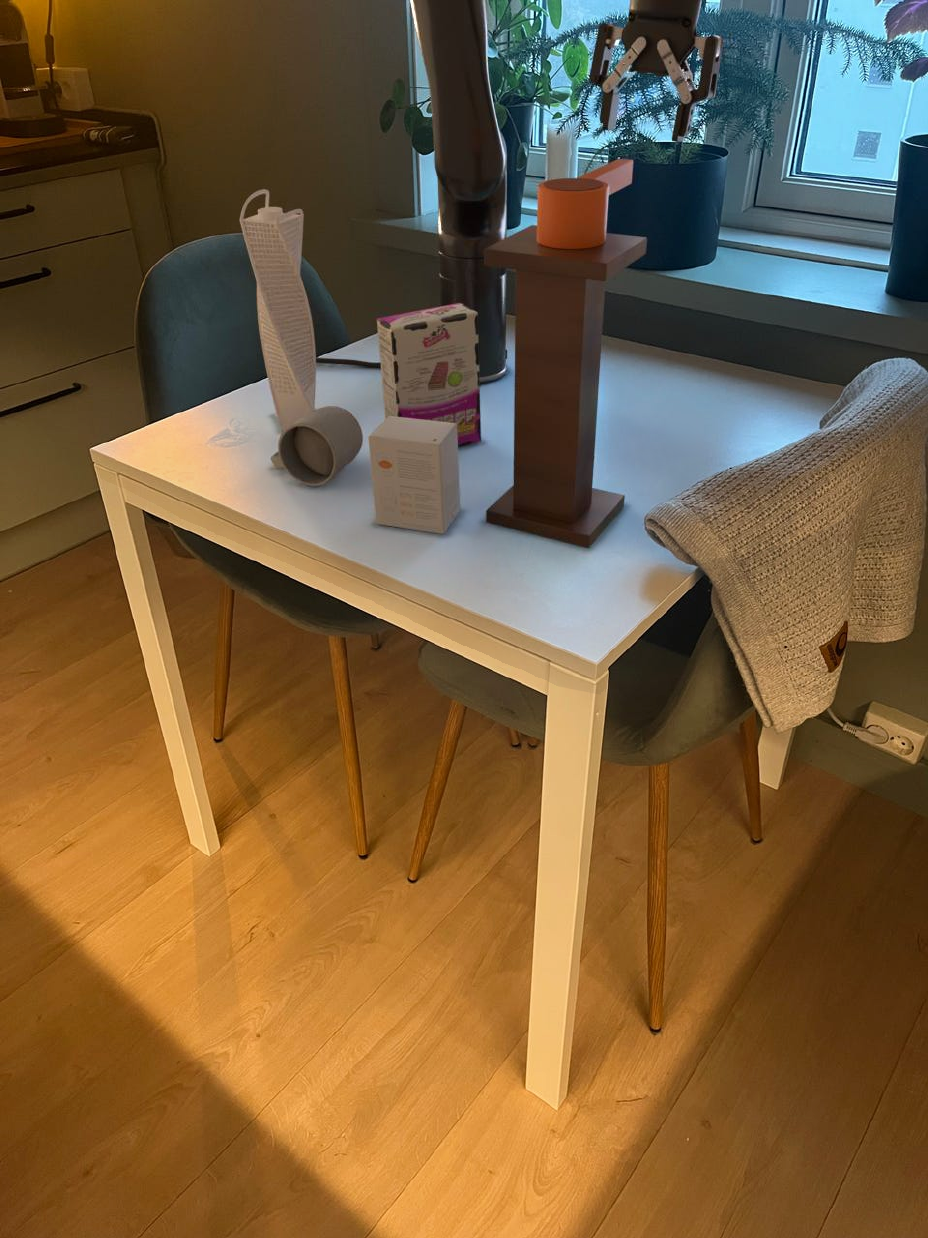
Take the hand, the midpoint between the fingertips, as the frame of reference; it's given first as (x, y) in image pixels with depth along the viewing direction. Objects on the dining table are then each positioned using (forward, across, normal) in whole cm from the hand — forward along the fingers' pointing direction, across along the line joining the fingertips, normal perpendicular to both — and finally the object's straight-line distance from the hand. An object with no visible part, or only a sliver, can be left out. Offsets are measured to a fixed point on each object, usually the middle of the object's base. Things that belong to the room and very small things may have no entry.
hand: (642, 135), depth 110 cm
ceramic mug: (+38, -21, -32) cm, 54 cm away
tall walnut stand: (+35, +8, -28) cm, 46 cm away
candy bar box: (+36, -13, -19) cm, 43 cm away
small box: (+37, -4, -36) cm, 52 cm away
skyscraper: (+38, -33, -22) cm, 54 cm away
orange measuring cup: (+6, +6, -25) cm, 26 cm away
